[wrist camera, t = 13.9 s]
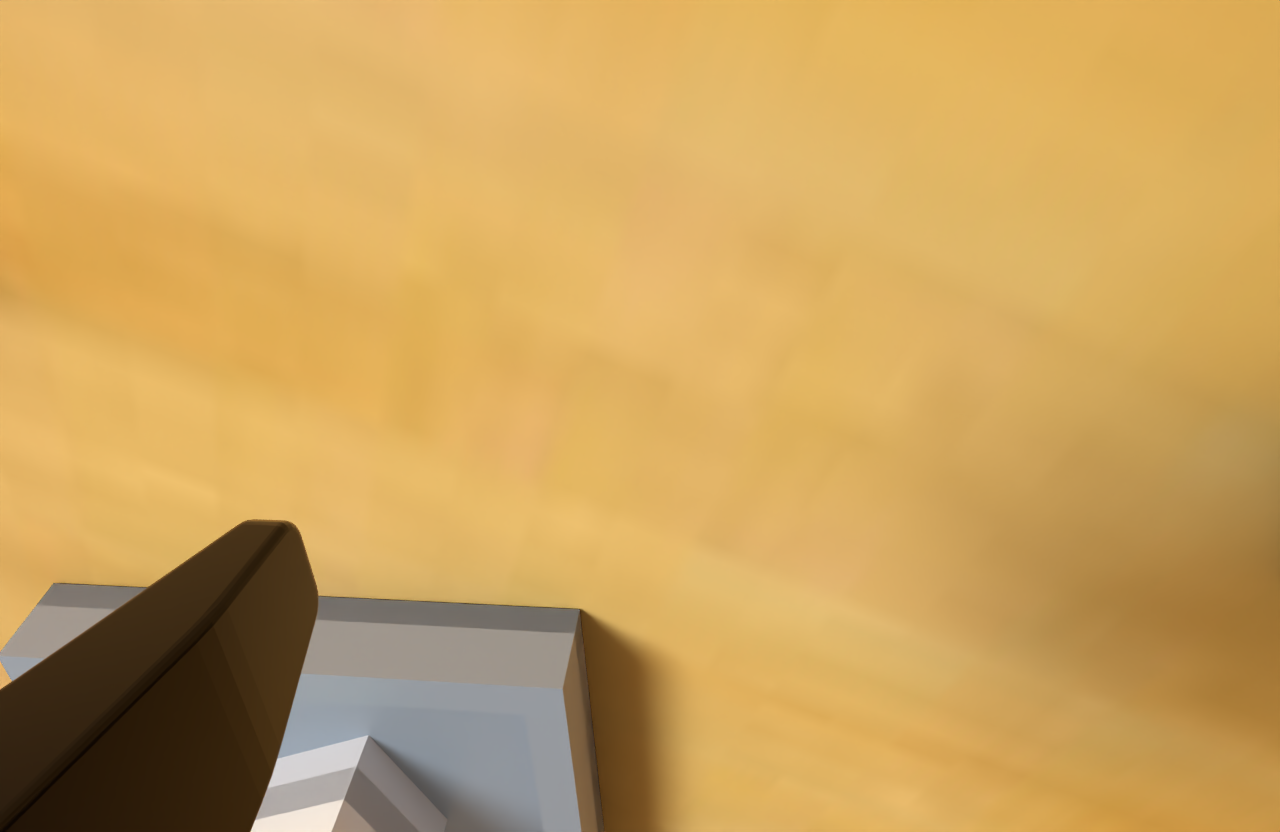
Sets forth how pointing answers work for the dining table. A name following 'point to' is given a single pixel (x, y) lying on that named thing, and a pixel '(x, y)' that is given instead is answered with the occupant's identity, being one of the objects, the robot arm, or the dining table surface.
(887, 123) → the dining table surface
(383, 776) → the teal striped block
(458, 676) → the tray
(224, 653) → the robot arm
